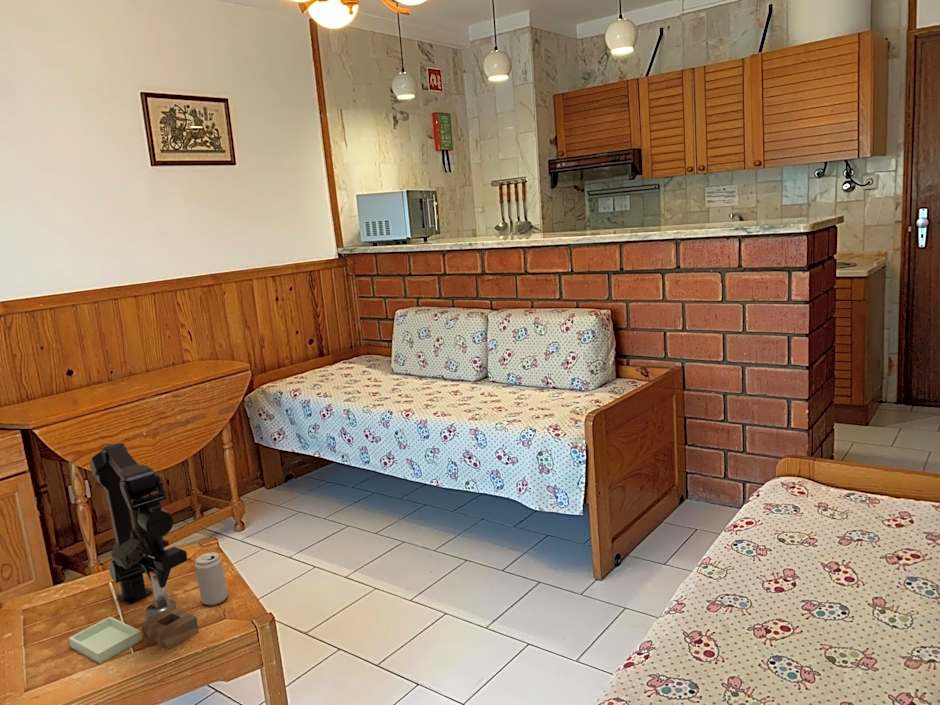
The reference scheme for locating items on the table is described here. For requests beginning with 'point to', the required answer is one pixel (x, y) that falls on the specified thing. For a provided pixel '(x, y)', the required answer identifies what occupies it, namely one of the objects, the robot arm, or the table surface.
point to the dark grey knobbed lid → (154, 610)
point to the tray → (105, 639)
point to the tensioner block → (170, 627)
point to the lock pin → (159, 591)
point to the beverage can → (211, 578)
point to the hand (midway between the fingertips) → (158, 585)
